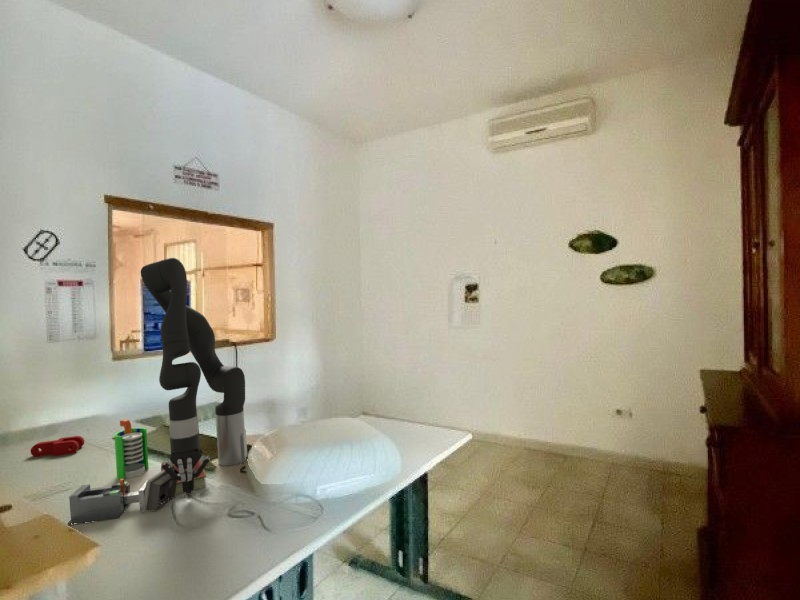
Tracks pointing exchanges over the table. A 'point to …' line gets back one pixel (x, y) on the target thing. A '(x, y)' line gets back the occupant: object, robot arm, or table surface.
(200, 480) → the hardcover book
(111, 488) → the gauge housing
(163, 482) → the electrical switch
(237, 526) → the table surface
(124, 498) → the plunger
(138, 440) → the green-shelled ribbed roller
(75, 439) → the mechanical linkage
